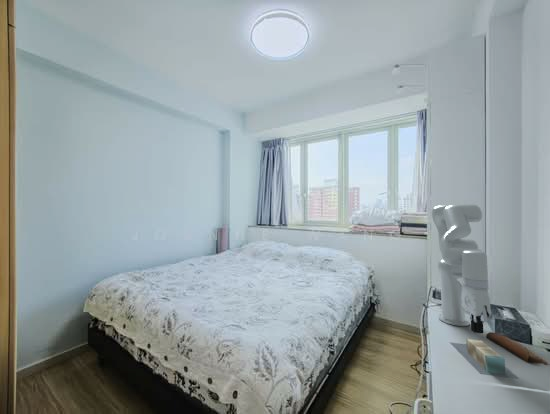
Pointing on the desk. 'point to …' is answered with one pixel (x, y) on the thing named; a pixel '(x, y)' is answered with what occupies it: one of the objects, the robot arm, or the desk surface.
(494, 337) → the sunglasses case
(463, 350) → the charcoal mat
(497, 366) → the wooden block
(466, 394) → the desk surface
